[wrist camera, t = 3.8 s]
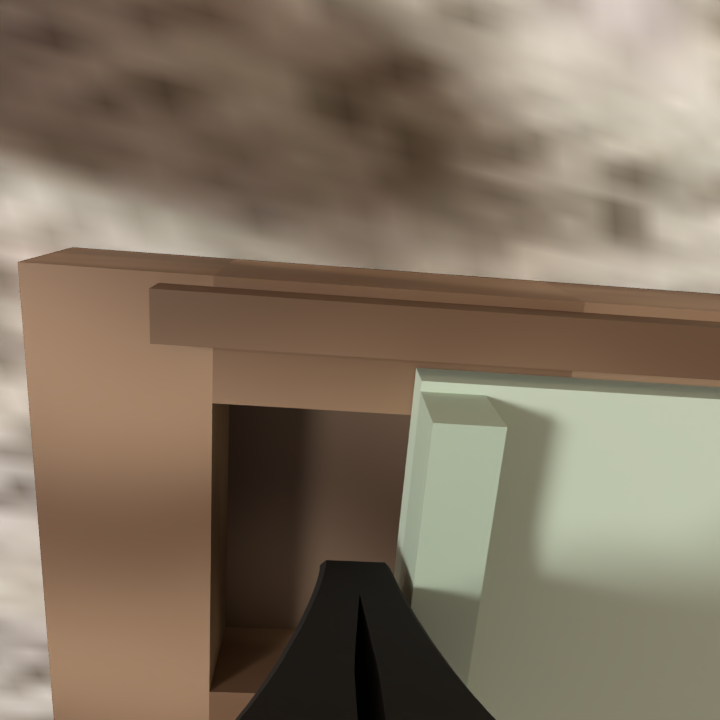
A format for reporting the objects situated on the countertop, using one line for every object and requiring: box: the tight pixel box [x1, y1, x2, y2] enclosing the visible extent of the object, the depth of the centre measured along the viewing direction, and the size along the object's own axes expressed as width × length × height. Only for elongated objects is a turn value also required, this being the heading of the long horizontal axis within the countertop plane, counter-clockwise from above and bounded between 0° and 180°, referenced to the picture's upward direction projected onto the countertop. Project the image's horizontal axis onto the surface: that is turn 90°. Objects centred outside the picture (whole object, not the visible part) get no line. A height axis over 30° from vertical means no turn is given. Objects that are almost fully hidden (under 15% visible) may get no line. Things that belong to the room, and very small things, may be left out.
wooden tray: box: [18, 247, 720, 720], centre depth 14 cm, size 12×22×3 cm, turn 86°
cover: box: [394, 368, 720, 720], centre depth 12 cm, size 9×8×2 cm
